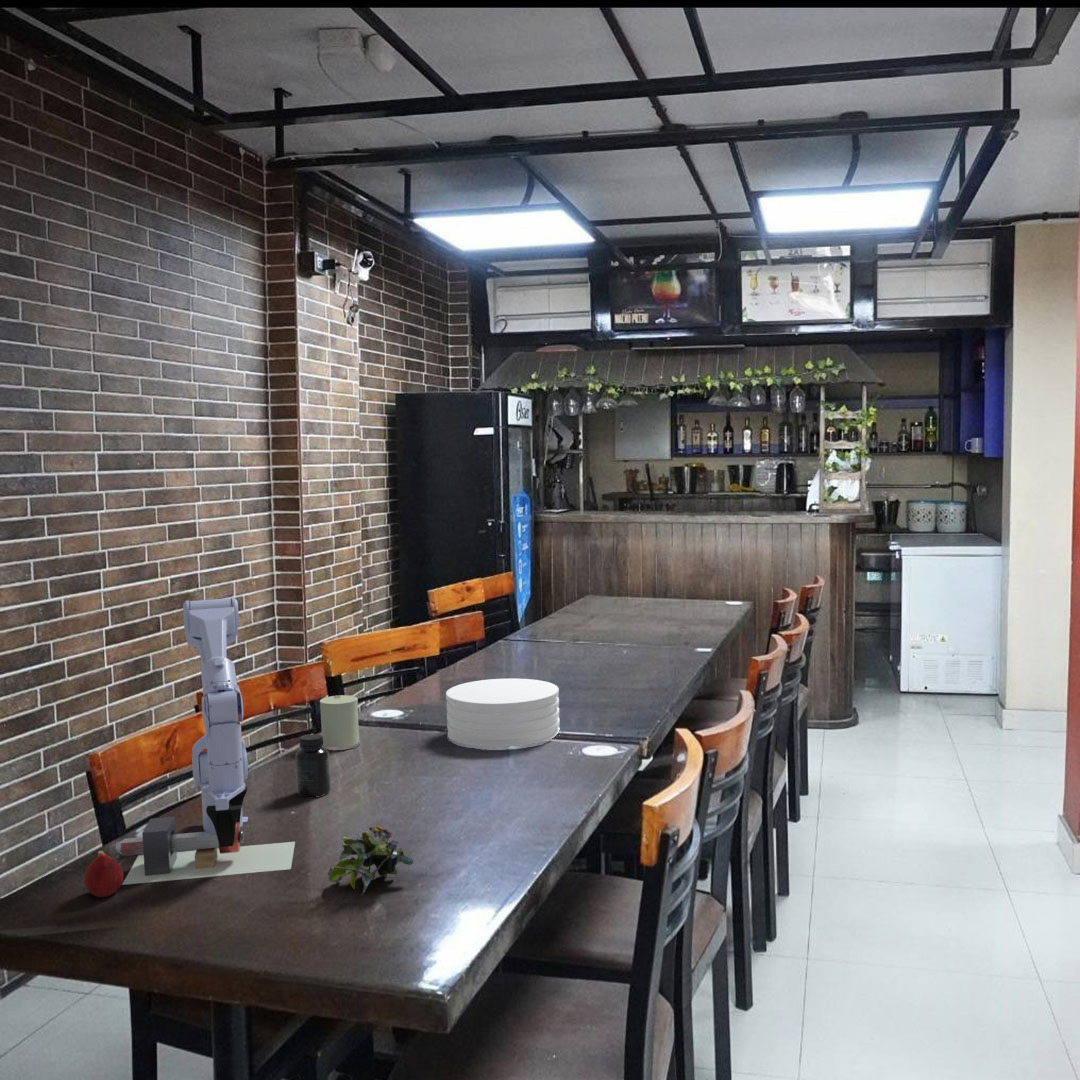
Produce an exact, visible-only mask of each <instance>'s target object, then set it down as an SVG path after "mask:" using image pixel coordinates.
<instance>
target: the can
mask: <svg viewBox="0 0 1080 1080" xmlns="http://www.w3.org/2000/svg"><path fill="white" fill-rule="evenodd" d="M319 706H320V724H321V727H320V728H321V735H322V736H323V742H324V746H327V747H328V746H329V747H346V746H352V745H355V744H357V743H358V742H360V733H359V731H360V730H359V729H360V728H359V710H358V709H359V707H358V706H359V704H358V697H357V696H355V695H350V694H349V695H348V694H347V695H346V694H344V695H343V694H341V695H331V696H327V697H324V698H321V699H320V700H319Z"/></svg>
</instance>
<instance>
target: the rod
mask: <svg viewBox="0 0 1080 1080" xmlns="http://www.w3.org/2000/svg"><path fill="white" fill-rule="evenodd" d="M244 842H245V832H244V830H241V827H240V825H239V822H236V830H235V839H234V844H233V846H228V847H220V844H219V841H218V838H217V834H216V831H207V832H206V831H196V832H187V833H186V832H185V833H184V832H183V833H175V834H172V835H170V852H172V851H177V852H184V851H195V850H197V849H206V848H217V849H218V848H219V851H220V854H224V853H235V852H239V851H240V846H241V844H243V843H244ZM115 850H116V852H117V853H118V854H120V855H121V856H122V857H124V856H125V857H126V856H135V855H137V856H139V855H144V853H143V837H142V836H140V837H138V836H137V837H127V838H123V840H120V841H118V842H117V843H116V845H115Z"/></svg>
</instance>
